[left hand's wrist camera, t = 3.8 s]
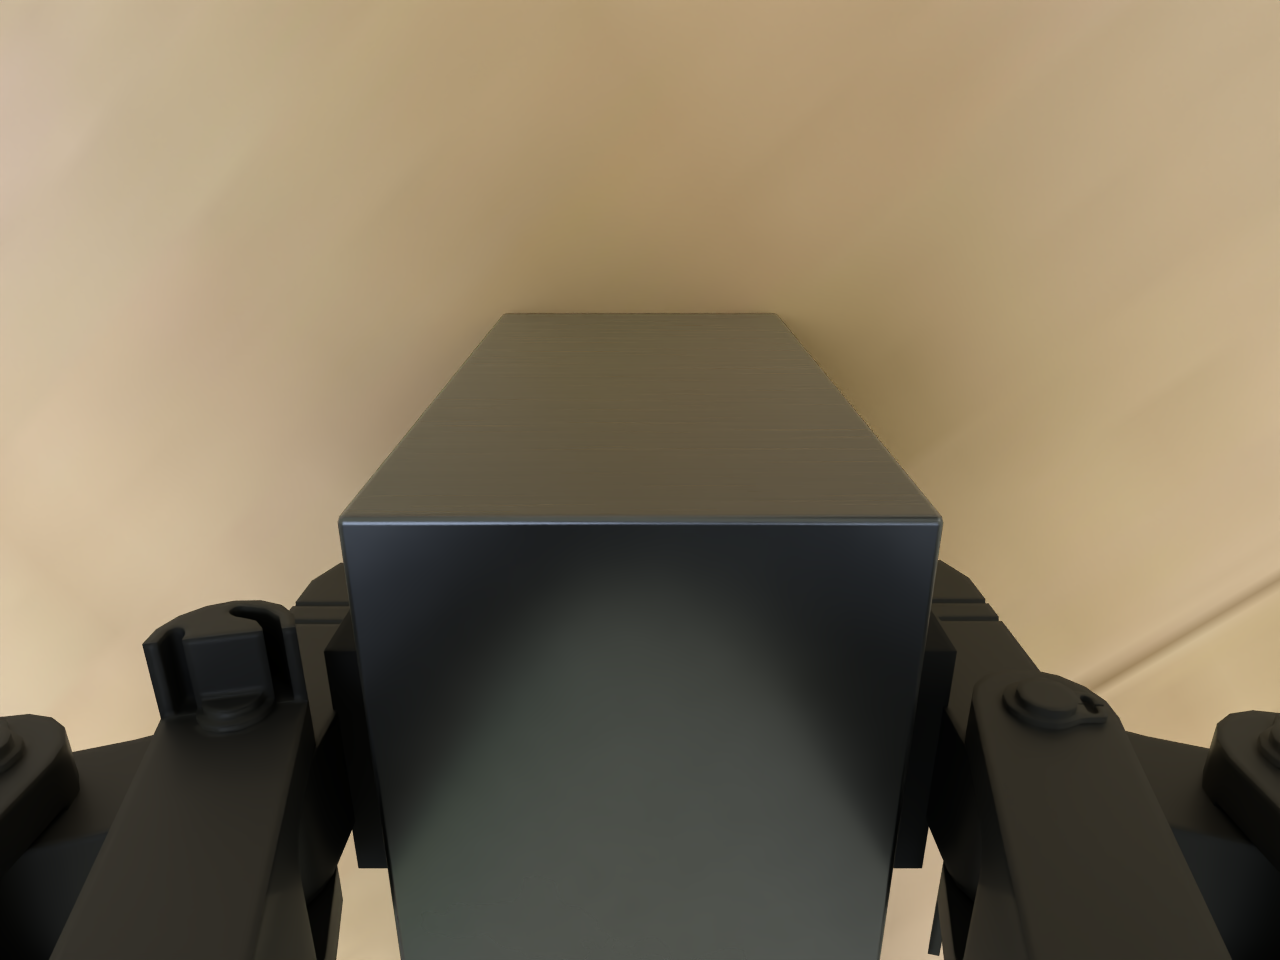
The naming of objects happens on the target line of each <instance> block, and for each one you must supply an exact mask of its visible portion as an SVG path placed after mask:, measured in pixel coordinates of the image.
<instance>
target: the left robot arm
mask: <svg viewBox="0 0 1280 960" xmlns="http://www.w3.org/2000/svg"><path fill="white" fill-rule="evenodd" d="M998 618H999V617H998V615H997V614H996V613H995V611H994V610H993V609H992V607H991V606H990V605H989V603H985V598H984V597H983V596H982V594H981V593H980V592H979V590H978V589H977V588H976V586H975V585H974V584H973V582H972V581H971V580H970V579H969V578H968V577H967V576H965V575H963V574H962V573H960V572H959V571H957V570H955V569H954V568H952V567H951V566H949V565H947V564H946V563H944V562H943V561H941V560H938V562H937V569H936V576H935V583H934V589H933V596H932V603H931V610H930V617H929V624H928V631H927V638H926V645H925V651H924V658H923V665H922V672H921V679H920V686H919V693H918V700H917V707H916V713H915V720H914V727H913V734H912V741H911V748H910V755H909V762H908V769H907V775H906V782H905V789H904V796H903V803H902V810H901V817H900V824H899V831H898V837H897V844H896V851H895V858H894V865H893V868H922V865H923V859H924V852H925V846H926V840H927V834H928V828H930V830H931V833H932V835H933V837H934V840H935V842H936V844H937V847H938V849H939V851H940V854H941V856H942V858H943V867H942V873H941V879H940V884H939V890H938V896H937V902H936V907H935V913H934V919H933V925H932V931H931V936H930V943H929V949H928V954H932V955H937V956H939V953H940V948H941V943H942V946H943V954H944V960H1280V713H1273V712H1264V711H1254V710H1252V711H1245V712H1239V713H1232V714H1229V715H1228V716H1226V717H1225V718H1224V719H1223V720H1221V721H1220V722H1219V723H1217V726H1216V729H1215V733H1214V736H1213V739H1212V742H1211V746H1210V749H1208V748H1203V747H1198V746H1193V745H1188V744H1183V743H1178V742H1173V741H1168V740H1163V739H1157V738H1152V737H1147V736H1143V735H1139V734H1136V733H1132V732H1128V731H1125V729H1124V727H1123V725H1122V723H1121V721H1120V719H1119V717H1118V716H1117V715H1116V713H1115V712H1114V711H1113V709H1112V708H1111V707H1110V706H1109V704H1108V703H1107V702H1106V701H1105V700H1104V699H1102V698H1101V697H1099V696H1098V695H1096V694H1095V693H1093V692H1092V691H1090V690H1089V689H1088V688H1086V687H1085V686H1082V685H1080V684H1077V683H1075V682H1073V681H1070V680H1068V679H1065V678H1063V677H1061V676H1058V675H1053V674H1049V673H1044V672H1040V670H1039V669H1038V668H1037V667H1036V665H1035V664H1034V663H1033V661H1032V660H1031V659H1030V657H1029V656H1028V655H1027V653H1026V652H1025V651H1024V649H1023V648H1022V647H1021V646H1020V644H1019V643H1018V642H1017V640H1016V639H1015V638H1014V636H1013V635H1012V634H1011V632H1010V631H1009V630H1008V628H1007V627H1006V626H1005V625H1004V623H1003V622H1002V621H999V619H998ZM142 645H143V649H144V653H145V657H146V661H147V665H148V669H149V673H150V677H151V681H152V685H153V689H154V693H155V697H156V701H157V705H158V708H159V712H160V716H161V720H160V722H159V724H158V727H157V729H156V731H155V733H154V735H152V736H148V737H144V738H140V739H136V740H132V741H127V742H121V743H116V744H111V745H106V746H101V747H96V748H91V749H86V750H81V751H76V752H72V750H71V747H70V743H69V740H68V737H67V734H66V730H65V727H64V726H62V725H61V724H60V723H58V722H57V721H56V720H54V719H53V718H52V717H45V716H39V715H32V714H25V715H16V716H6V717H0V960H336V956H337V948H338V939H339V930H340V921H341V912H342V903H343V898H342V891H341V885H340V879H339V873H338V867H337V864H338V862H339V859H340V857H341V855H342V852H343V850H344V848H345V845H346V843H347V840H348V838H349V836H350V833H351V831H353V837H354V843H355V849H356V855H357V861H358V868H388V867H387V860H386V853H385V846H384V839H383V832H382V825H381V818H380V811H379V804H378V797H377V791H376V784H375V777H374V770H373V763H372V756H371V749H370V742H369V735H368V728H367V721H366V715H365V708H364V701H363V694H362V687H361V680H360V673H359V666H358V659H357V652H356V645H355V639H354V632H353V625H352V618H351V611H350V604H349V597H348V590H347V583H346V576H345V569H344V563H340V564H338V565H336V566H335V567H333V568H332V569H330V570H328V571H327V572H325V573H324V574H322V575H320V576H319V577H317V578H316V579H314V580H312V581H311V583H310V584H309V585H308V587H307V588H306V589H305V591H304V592H303V593H302V595H301V596H300V597H299V599H298V600H297V601H296V606H293V607H292V608H291V609H290V610H288V609H286V608H285V607H284V606H282V605H280V604H275V603H271V602H266V601H262V600H252V601H231V602H226V603H221V604H215V605H210V606H205V607H203V608H200V609H197V610H194V611H192V612H189V613H186V614H183V615H180V616H178V617H176V618H175V619H173V620H171V621H170V622H168V623H166V624H164V625H163V626H161V627H159V628H158V629H156V630H155V631H154V632H153V633H152V634H151V635H150V637H149V638H148V639H147V640H146V641H145V642H144V643H143V644H142Z"/></svg>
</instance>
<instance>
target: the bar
mask: <svg viewBox="0 0 1280 960" xmlns="http://www.w3.org/2000/svg"><path fill="white" fill-rule="evenodd" d="M942 527H943V520H942V516H941V515H940V514H939V513H938V511H937V510H936V509H935V508H934V507H933V505H932V504H931V503H930V502H929V500H928V499H927V498H926V497H925V495H924V494H923V493H922V492H921V491H920V489H919V488H918V487H917V486H916V484H915V483H914V482H913V481H912V480H911V478H910V477H909V476H908V475H907V473H906V472H905V471H904V470H903V469H902V467H901V466H900V465H899V464H898V462H897V461H896V460H895V459H894V457H893V456H892V455H891V454H890V453H889V451H888V450H887V449H886V448H885V446H884V445H883V444H882V443H881V442H880V440H879V439H878V438H877V437H876V435H875V434H874V433H873V432H872V430H871V429H870V428H869V427H868V426H867V424H866V423H865V422H864V421H863V419H862V418H861V417H860V416H859V415H858V413H857V412H856V411H855V410H854V408H853V407H852V406H851V405H850V403H849V402H848V401H847V400H846V399H845V397H844V396H843V395H842V394H841V392H840V391H839V390H838V389H837V388H836V386H835V385H834V384H833V383H832V381H831V380H830V379H829V378H828V377H827V375H826V374H825V373H824V372H823V370H822V369H821V368H820V367H819V365H818V364H817V363H816V362H815V361H814V359H813V358H812V357H811V356H810V354H809V353H808V352H807V351H806V350H805V348H804V347H803V346H802V345H801V343H800V342H799V341H798V340H797V338H796V337H795V336H794V335H793V334H792V332H791V331H790V330H789V329H788V327H787V326H786V325H785V324H784V323H783V321H782V320H781V319H780V318H779V316H778V315H776V314H504V315H503V316H502V317H501V318H500V319H499V321H498V322H497V323H496V324H495V326H494V327H493V328H492V329H491V330H490V332H489V333H488V334H487V335H486V337H485V338H484V339H483V340H482V342H481V343H480V344H479V345H478V346H477V348H476V349H475V350H474V351H473V353H472V354H471V355H470V356H469V358H468V359H467V360H466V361H465V362H464V364H463V365H462V366H461V367H460V369H459V370H458V371H457V372H456V374H455V375H454V376H453V377H452V378H451V380H450V381H449V382H448V383H447V385H446V386H445V387H444V388H443V390H442V391H441V392H440V393H439V394H438V396H437V397H436V398H435V399H434V401H433V402H432V403H431V404H430V406H429V407H428V408H427V409H426V410H425V412H424V413H423V414H422V415H421V417H420V418H419V419H418V420H417V422H416V423H415V424H414V425H413V426H412V428H411V429H410V430H409V431H408V433H407V434H406V435H405V436H404V438H403V439H402V440H401V441H400V442H399V444H398V445H397V446H396V447H395V449H394V450H393V451H392V452H391V454H390V455H389V456H388V457H387V458H386V460H385V461H384V462H383V463H382V465H381V466H380V467H379V468H378V469H377V471H376V472H375V473H374V474H373V476H372V477H371V478H370V479H369V481H368V482H367V483H366V484H365V485H364V487H363V488H362V489H361V490H360V492H359V493H358V494H357V495H356V497H355V498H354V499H353V500H352V501H351V503H350V504H349V505H348V506H347V508H346V509H345V510H344V511H343V513H342V514H341V515H340V516H339V519H338V528H339V535H340V542H341V549H342V556H343V562H344V569H345V576H346V583H347V590H348V597H349V604H350V611H351V618H352V625H353V632H354V639H355V645H356V652H357V659H358V666H359V673H360V680H361V687H362V694H363V701H364V708H365V715H366V721H367V728H368V735H369V742H370V749H371V756H372V763H373V770H374V777H375V784H376V791H377V797H378V804H379V811H380V818H381V825H382V832H383V839H384V846H385V853H386V860H387V867H388V873H389V880H390V887H391V894H392V901H393V908H394V915H395V922H396V929H397V936H398V943H399V950H400V956H401V960H880V955H881V948H882V941H883V934H884V927H885V920H886V913H887V906H888V899H889V893H890V886H891V879H892V872H893V865H894V858H895V851H896V844H897V837H898V831H899V824H900V817H901V810H902V803H903V796H904V789H905V782H906V775H907V769H908V762H909V755H910V748H911V741H912V734H913V727H914V720H915V713H916V707H917V700H918V693H919V686H920V679H921V672H922V665H923V658H924V651H925V645H926V638H927V631H928V624H929V617H930V610H931V603H932V596H933V589H934V583H935V576H936V569H937V562H938V555H939V548H940V541H941V534H942Z"/></svg>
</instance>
